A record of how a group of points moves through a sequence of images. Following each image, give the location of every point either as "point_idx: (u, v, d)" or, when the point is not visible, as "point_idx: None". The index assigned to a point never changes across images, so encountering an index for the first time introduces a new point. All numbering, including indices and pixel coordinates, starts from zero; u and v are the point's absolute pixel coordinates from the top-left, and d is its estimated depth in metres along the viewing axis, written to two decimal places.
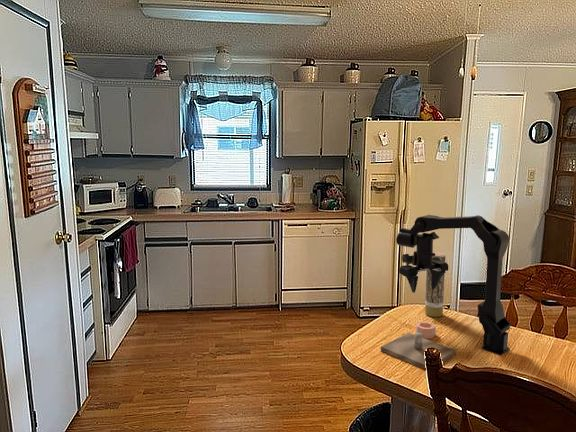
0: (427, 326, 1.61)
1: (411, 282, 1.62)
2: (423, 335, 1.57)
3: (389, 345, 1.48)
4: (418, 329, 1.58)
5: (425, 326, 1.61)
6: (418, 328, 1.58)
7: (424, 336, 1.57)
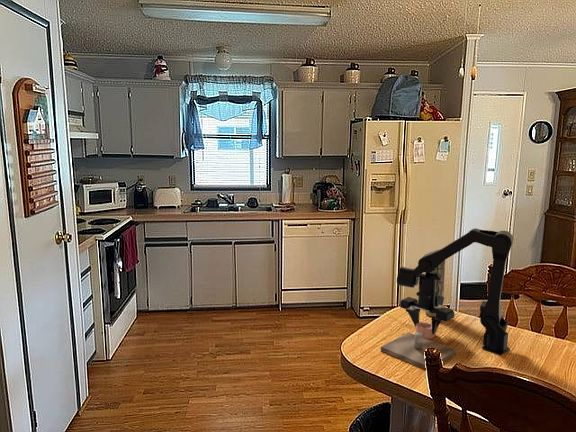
0: (427, 326, 1.61)
1: None
2: (423, 335, 1.57)
3: (389, 345, 1.48)
4: (418, 329, 1.58)
5: (425, 326, 1.61)
6: (418, 328, 1.58)
7: (424, 336, 1.57)
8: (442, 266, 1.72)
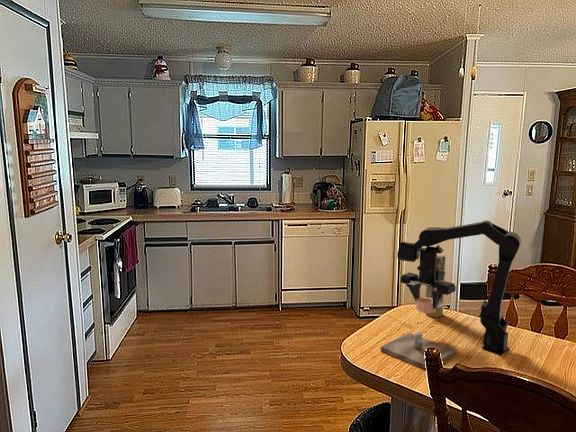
0: (428, 301, 1.60)
1: None
2: (424, 310, 1.55)
3: (389, 345, 1.48)
4: (419, 304, 1.56)
5: (426, 301, 1.60)
6: (419, 303, 1.56)
7: (425, 311, 1.55)
8: (442, 266, 1.72)
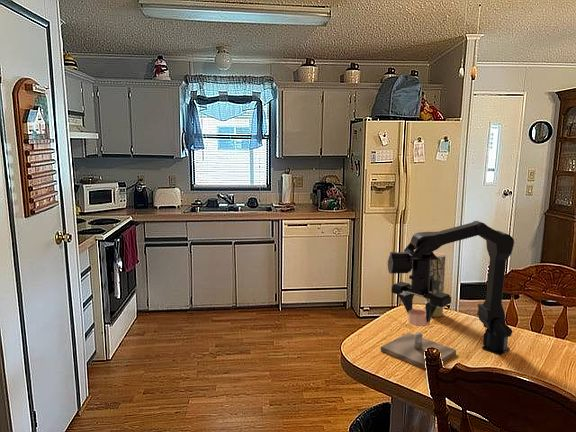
0: (421, 313, 1.46)
1: None
2: (416, 323, 1.42)
3: (389, 345, 1.48)
4: (411, 316, 1.43)
5: (419, 313, 1.46)
6: (411, 315, 1.43)
7: (417, 324, 1.42)
8: (442, 266, 1.72)
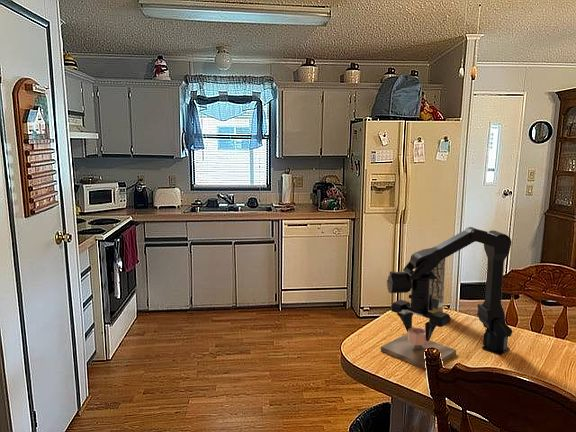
0: (421, 332, 1.47)
1: None
2: (416, 342, 1.43)
3: (389, 345, 1.48)
4: (410, 335, 1.44)
5: None
6: (410, 334, 1.44)
7: (417, 343, 1.42)
8: (442, 266, 1.72)
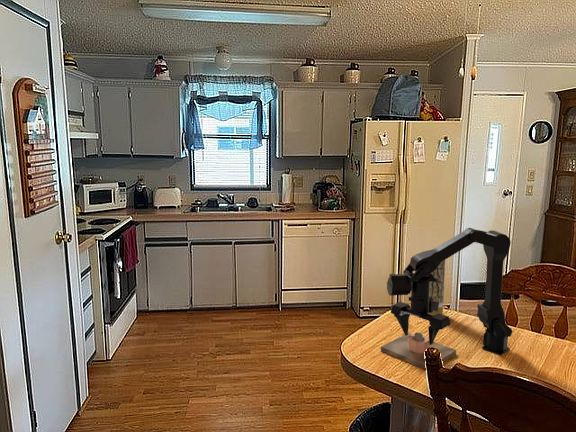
0: None
1: None
2: (415, 349, 1.43)
3: (389, 345, 1.48)
4: (410, 342, 1.44)
5: None
6: (410, 341, 1.44)
7: (417, 350, 1.43)
8: (442, 266, 1.72)
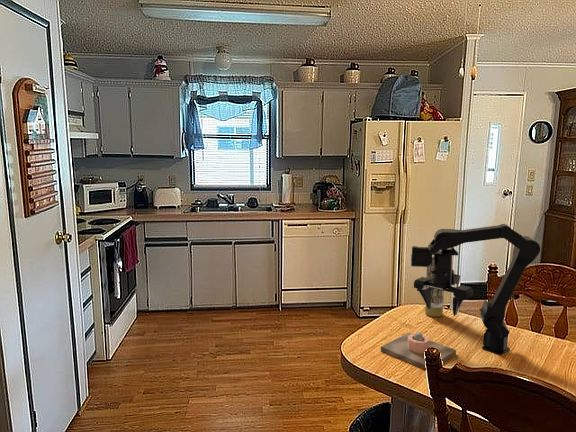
0: None
1: None
2: (415, 349, 1.43)
3: (389, 345, 1.48)
4: (410, 342, 1.44)
5: None
6: (410, 341, 1.44)
7: (417, 350, 1.43)
8: None
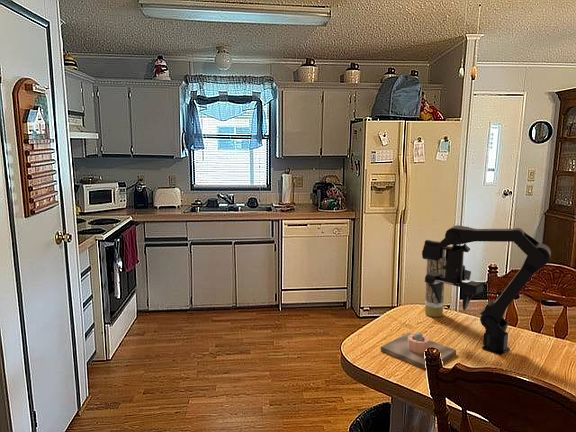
0: None
1: None
2: (415, 349, 1.43)
3: (389, 345, 1.48)
4: (410, 342, 1.44)
5: None
6: (410, 341, 1.44)
7: (417, 350, 1.43)
8: (442, 266, 1.72)
